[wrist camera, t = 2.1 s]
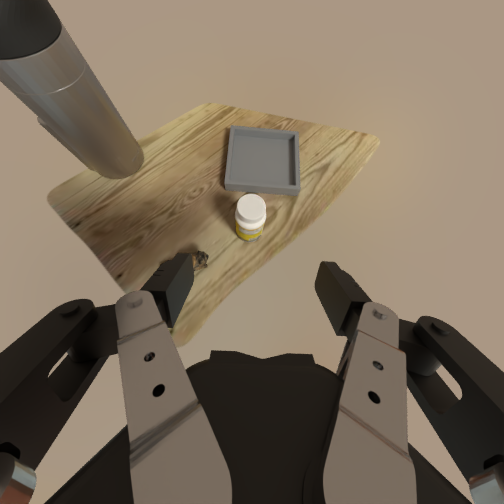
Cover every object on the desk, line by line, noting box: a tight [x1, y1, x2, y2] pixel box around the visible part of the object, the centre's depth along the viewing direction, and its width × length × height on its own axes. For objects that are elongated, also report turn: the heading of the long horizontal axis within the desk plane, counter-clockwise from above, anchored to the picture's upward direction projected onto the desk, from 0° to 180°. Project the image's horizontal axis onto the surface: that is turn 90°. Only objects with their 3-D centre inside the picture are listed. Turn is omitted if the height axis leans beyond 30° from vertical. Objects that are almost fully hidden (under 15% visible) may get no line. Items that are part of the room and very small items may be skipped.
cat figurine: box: [192, 250, 209, 271], centre depth 29 cm, size 3×8×4 cm, turn 102°
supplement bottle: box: [235, 194, 266, 242], centre depth 29 cm, size 5×5×8 cm
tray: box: [224, 125, 300, 196], centre depth 36 cm, size 14×14×2 cm
